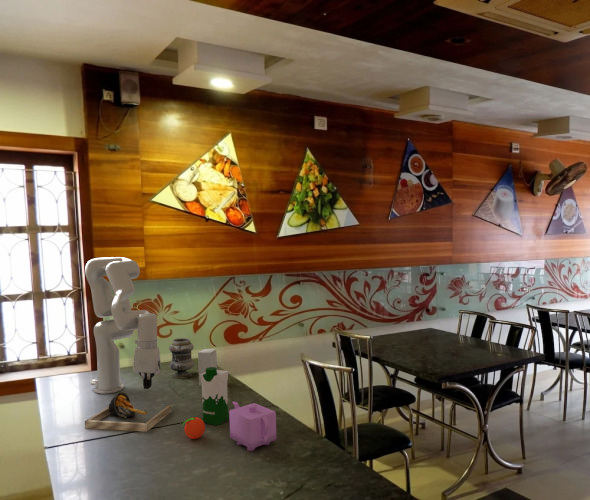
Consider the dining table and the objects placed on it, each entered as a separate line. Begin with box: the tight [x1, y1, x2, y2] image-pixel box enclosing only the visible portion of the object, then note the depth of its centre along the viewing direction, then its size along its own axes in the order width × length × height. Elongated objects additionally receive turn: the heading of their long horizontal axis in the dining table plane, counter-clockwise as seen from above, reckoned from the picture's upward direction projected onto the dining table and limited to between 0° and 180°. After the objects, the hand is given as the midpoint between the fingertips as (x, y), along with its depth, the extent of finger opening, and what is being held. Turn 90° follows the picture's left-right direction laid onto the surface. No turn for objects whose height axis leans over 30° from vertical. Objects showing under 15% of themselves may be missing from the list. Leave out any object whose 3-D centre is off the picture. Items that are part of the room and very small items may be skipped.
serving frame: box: [84, 404, 172, 433], centre depth 180 cm, size 24×19×2 cm
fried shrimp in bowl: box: [108, 391, 149, 419], centre depth 183 cm, size 9×11×18 cm
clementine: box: [181, 416, 206, 440], centre depth 161 cm, size 8×7×7 cm
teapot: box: [228, 401, 277, 452], centre depth 157 cm, size 20×10×12 cm, turn 41°
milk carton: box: [200, 367, 230, 426], centre depth 176 cm, size 9×9×20 cm
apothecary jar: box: [168, 337, 195, 379], centre depth 237 cm, size 12×12×18 cm
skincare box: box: [197, 348, 218, 387], centre depth 223 cm, size 8×7×16 cm
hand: (147, 387), depth 196 cm, fingers closed
